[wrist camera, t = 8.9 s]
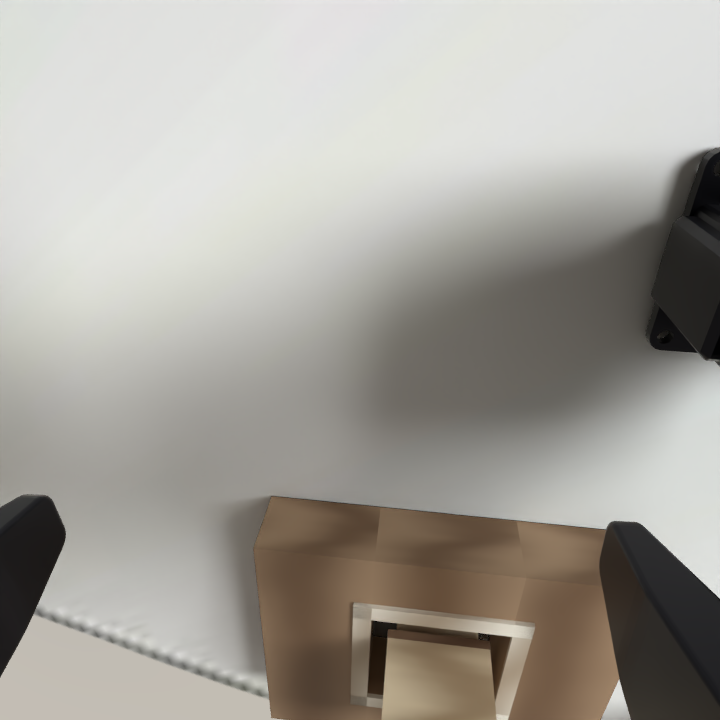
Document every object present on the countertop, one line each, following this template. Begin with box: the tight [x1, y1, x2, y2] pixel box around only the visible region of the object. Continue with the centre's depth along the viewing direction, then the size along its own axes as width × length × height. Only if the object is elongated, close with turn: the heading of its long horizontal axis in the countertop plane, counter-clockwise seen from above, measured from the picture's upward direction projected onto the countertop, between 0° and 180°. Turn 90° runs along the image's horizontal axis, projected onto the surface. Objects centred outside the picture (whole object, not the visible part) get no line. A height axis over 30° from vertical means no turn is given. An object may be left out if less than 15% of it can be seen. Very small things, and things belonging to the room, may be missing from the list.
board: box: [253, 496, 619, 720], centre depth 27 cm, size 16×13×3 cm
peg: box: [382, 623, 497, 720], centre depth 24 cm, size 4×4×9 cm
